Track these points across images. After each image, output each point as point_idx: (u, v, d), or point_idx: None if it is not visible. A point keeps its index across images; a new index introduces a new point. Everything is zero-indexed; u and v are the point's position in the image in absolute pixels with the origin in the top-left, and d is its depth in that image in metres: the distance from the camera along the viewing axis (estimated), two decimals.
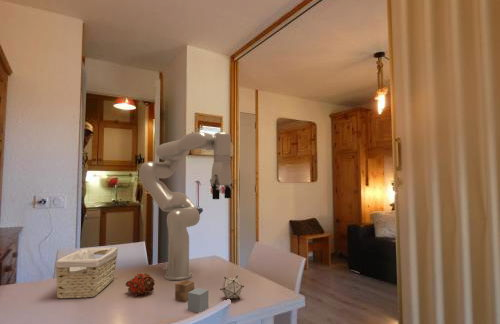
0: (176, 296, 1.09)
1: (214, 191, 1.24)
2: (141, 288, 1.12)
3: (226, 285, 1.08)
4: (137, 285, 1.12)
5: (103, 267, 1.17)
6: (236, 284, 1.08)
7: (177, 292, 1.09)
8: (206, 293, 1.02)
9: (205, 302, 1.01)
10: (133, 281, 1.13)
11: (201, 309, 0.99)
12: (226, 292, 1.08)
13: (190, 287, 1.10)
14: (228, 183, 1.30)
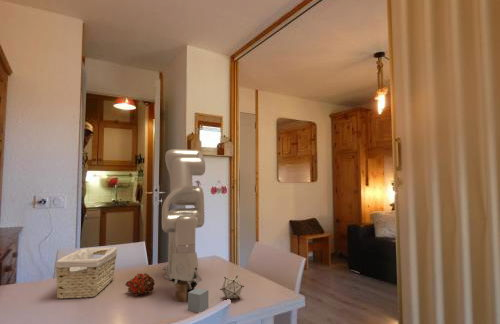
0: (176, 296, 1.09)
1: None
2: (141, 288, 1.12)
3: (226, 285, 1.08)
4: (137, 285, 1.12)
5: (103, 267, 1.18)
6: (236, 284, 1.08)
7: (177, 292, 1.09)
8: (206, 293, 1.02)
9: (205, 302, 1.01)
10: (133, 281, 1.13)
11: (201, 309, 0.99)
12: (226, 292, 1.08)
13: None
14: None
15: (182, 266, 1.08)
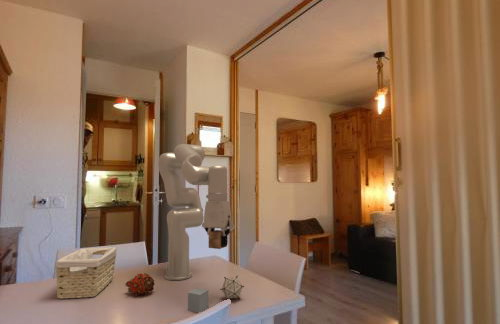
0: (210, 244, 1.10)
1: (226, 237, 1.10)
2: (141, 288, 1.12)
3: (226, 285, 1.08)
4: (137, 285, 1.12)
5: (103, 267, 1.18)
6: (236, 284, 1.08)
7: (211, 239, 1.10)
8: (206, 293, 1.02)
9: (205, 302, 1.01)
10: (133, 281, 1.13)
11: (201, 309, 0.99)
12: (226, 292, 1.08)
13: None
14: None
15: (216, 213, 1.09)
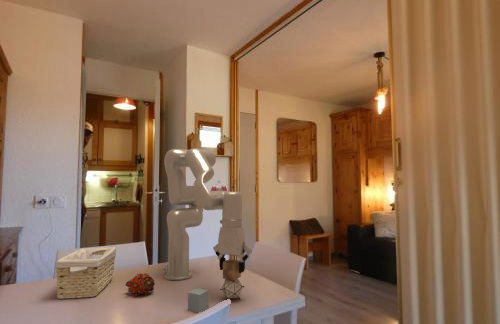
0: (224, 274, 1.09)
1: (243, 263, 1.09)
2: (141, 288, 1.12)
3: (226, 285, 1.08)
4: (137, 285, 1.12)
5: (103, 267, 1.18)
6: (236, 284, 1.08)
7: (225, 270, 1.09)
8: (206, 293, 1.02)
9: (205, 302, 1.01)
10: (133, 281, 1.13)
11: (201, 309, 0.99)
12: (226, 292, 1.08)
13: (238, 265, 1.10)
14: None
15: (230, 241, 1.09)
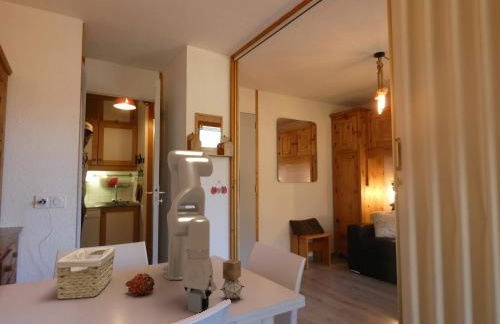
0: (224, 274, 1.09)
1: (207, 299, 1.00)
2: (141, 288, 1.12)
3: (226, 285, 1.08)
4: (137, 285, 1.12)
5: (104, 267, 1.18)
6: (236, 284, 1.08)
7: (225, 270, 1.09)
8: None
9: None
10: (133, 281, 1.13)
11: (201, 309, 0.99)
12: (226, 292, 1.08)
13: (238, 266, 1.10)
14: None
15: (196, 273, 0.99)
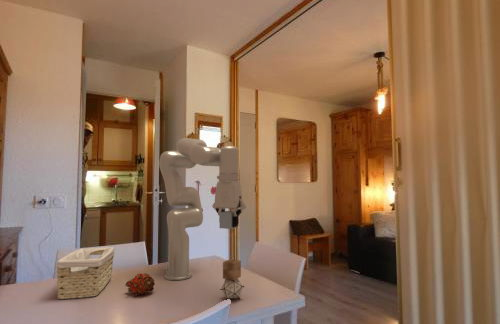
0: (224, 274, 1.09)
1: (237, 217, 1.10)
2: (141, 288, 1.12)
3: (226, 285, 1.08)
4: (137, 285, 1.12)
5: (104, 266, 1.18)
6: (236, 284, 1.08)
7: (225, 270, 1.09)
8: None
9: None
10: (133, 281, 1.13)
11: None
12: (226, 292, 1.08)
13: (238, 265, 1.10)
14: None
15: (227, 194, 1.09)
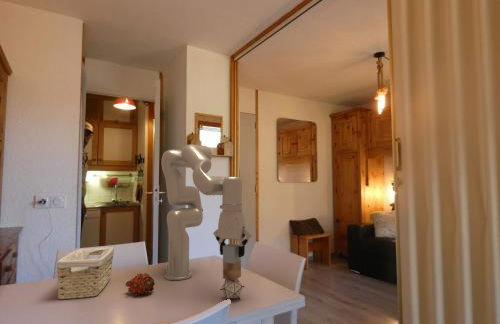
0: (224, 274, 1.09)
1: (243, 247, 1.09)
2: (141, 288, 1.12)
3: (226, 285, 1.08)
4: (137, 285, 1.12)
5: (104, 266, 1.18)
6: (236, 284, 1.08)
7: (225, 270, 1.09)
8: None
9: (238, 255, 1.11)
10: (133, 281, 1.13)
11: (235, 260, 1.09)
12: (226, 292, 1.08)
13: (238, 265, 1.10)
14: None
15: (230, 225, 1.09)
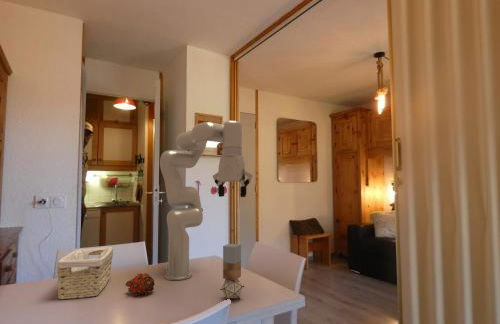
0: (224, 274, 1.09)
1: (245, 188, 1.11)
2: (141, 288, 1.12)
3: (226, 285, 1.08)
4: (137, 285, 1.12)
5: (104, 266, 1.18)
6: (236, 284, 1.08)
7: (225, 270, 1.09)
8: (239, 247, 1.11)
9: (238, 255, 1.11)
10: (133, 281, 1.13)
11: (235, 260, 1.09)
12: (226, 292, 1.08)
13: (238, 265, 1.10)
14: None
15: (230, 167, 1.11)
